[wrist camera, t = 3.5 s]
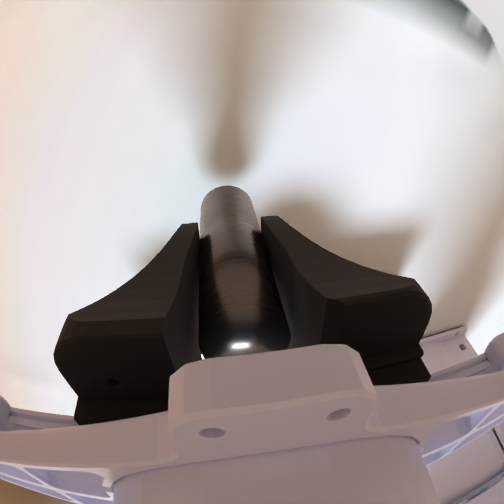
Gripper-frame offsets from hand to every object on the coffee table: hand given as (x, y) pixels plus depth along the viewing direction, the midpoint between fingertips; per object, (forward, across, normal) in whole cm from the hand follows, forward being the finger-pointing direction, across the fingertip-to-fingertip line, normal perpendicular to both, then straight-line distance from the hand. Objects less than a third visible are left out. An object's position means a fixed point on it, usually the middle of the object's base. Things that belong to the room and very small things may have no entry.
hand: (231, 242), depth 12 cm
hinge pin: (+3, 0, 0) cm, 3 cm away
